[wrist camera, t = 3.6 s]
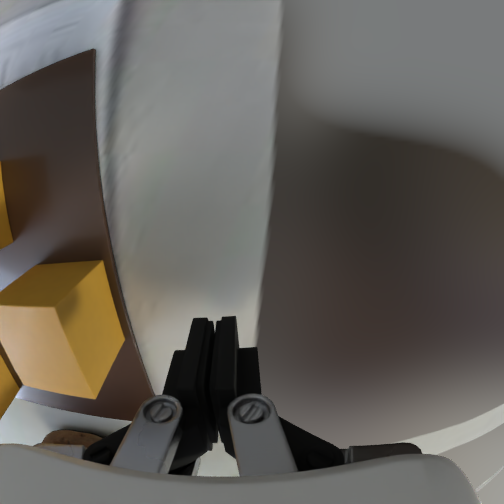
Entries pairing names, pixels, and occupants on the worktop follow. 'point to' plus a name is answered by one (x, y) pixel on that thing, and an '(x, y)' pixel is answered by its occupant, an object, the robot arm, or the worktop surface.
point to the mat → (62, 212)
